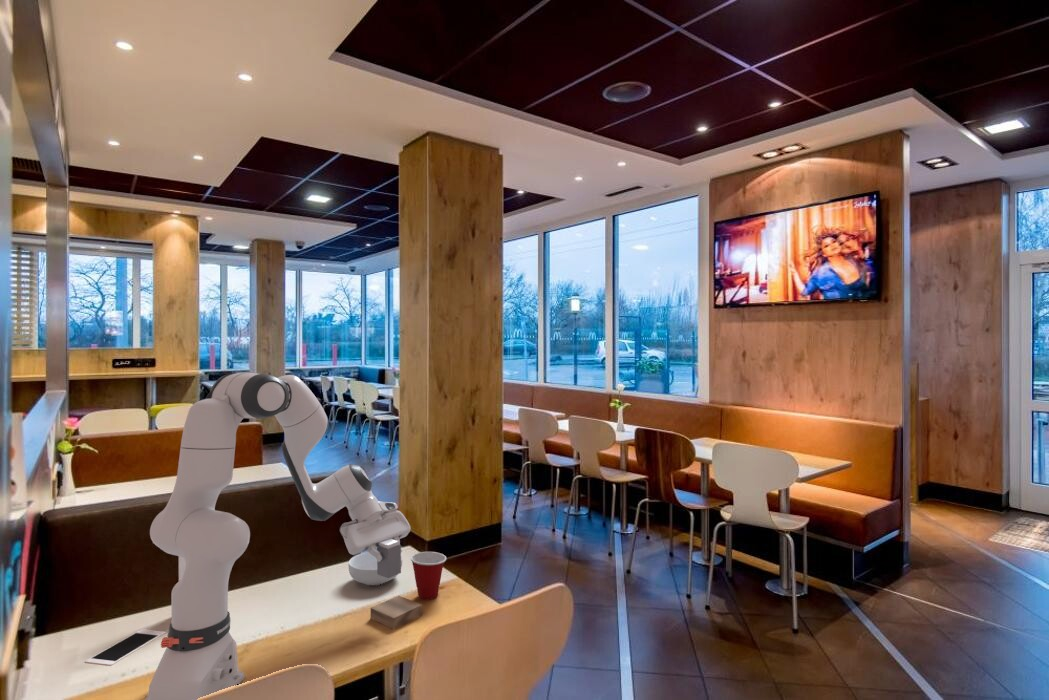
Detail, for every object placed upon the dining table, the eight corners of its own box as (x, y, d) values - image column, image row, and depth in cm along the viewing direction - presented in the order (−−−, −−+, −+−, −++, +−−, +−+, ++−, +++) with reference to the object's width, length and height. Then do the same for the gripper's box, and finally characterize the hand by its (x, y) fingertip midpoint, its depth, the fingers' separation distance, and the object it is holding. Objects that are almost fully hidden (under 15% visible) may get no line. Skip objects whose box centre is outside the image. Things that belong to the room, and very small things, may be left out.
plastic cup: (450, 599, 169) (450, 559, 169) (414, 606, 165) (414, 565, 165) (442, 585, 179) (441, 548, 179) (407, 591, 175) (407, 552, 175)
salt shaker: (388, 578, 156) (387, 545, 156) (377, 574, 159) (377, 542, 159) (401, 572, 160) (400, 541, 160) (390, 569, 162) (390, 537, 162)
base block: (393, 629, 151) (393, 618, 151) (370, 618, 158) (370, 607, 158) (422, 615, 159) (422, 604, 159) (398, 605, 165) (398, 595, 165)
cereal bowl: (363, 597, 172) (363, 573, 172) (339, 580, 184) (339, 558, 184) (412, 581, 183) (412, 559, 183) (386, 567, 195) (386, 546, 195)
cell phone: (166, 633, 151) (166, 631, 151) (111, 667, 135) (111, 664, 135) (141, 631, 152) (141, 628, 152) (84, 663, 136) (84, 661, 136)
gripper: (342, 518, 155) (364, 562, 149) (400, 501, 171) (422, 540, 165) (332, 531, 158) (354, 574, 152) (390, 513, 174) (412, 552, 168)
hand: (390, 556), depth 159 cm, fingers closed on salt shaker, 5 cm apart
